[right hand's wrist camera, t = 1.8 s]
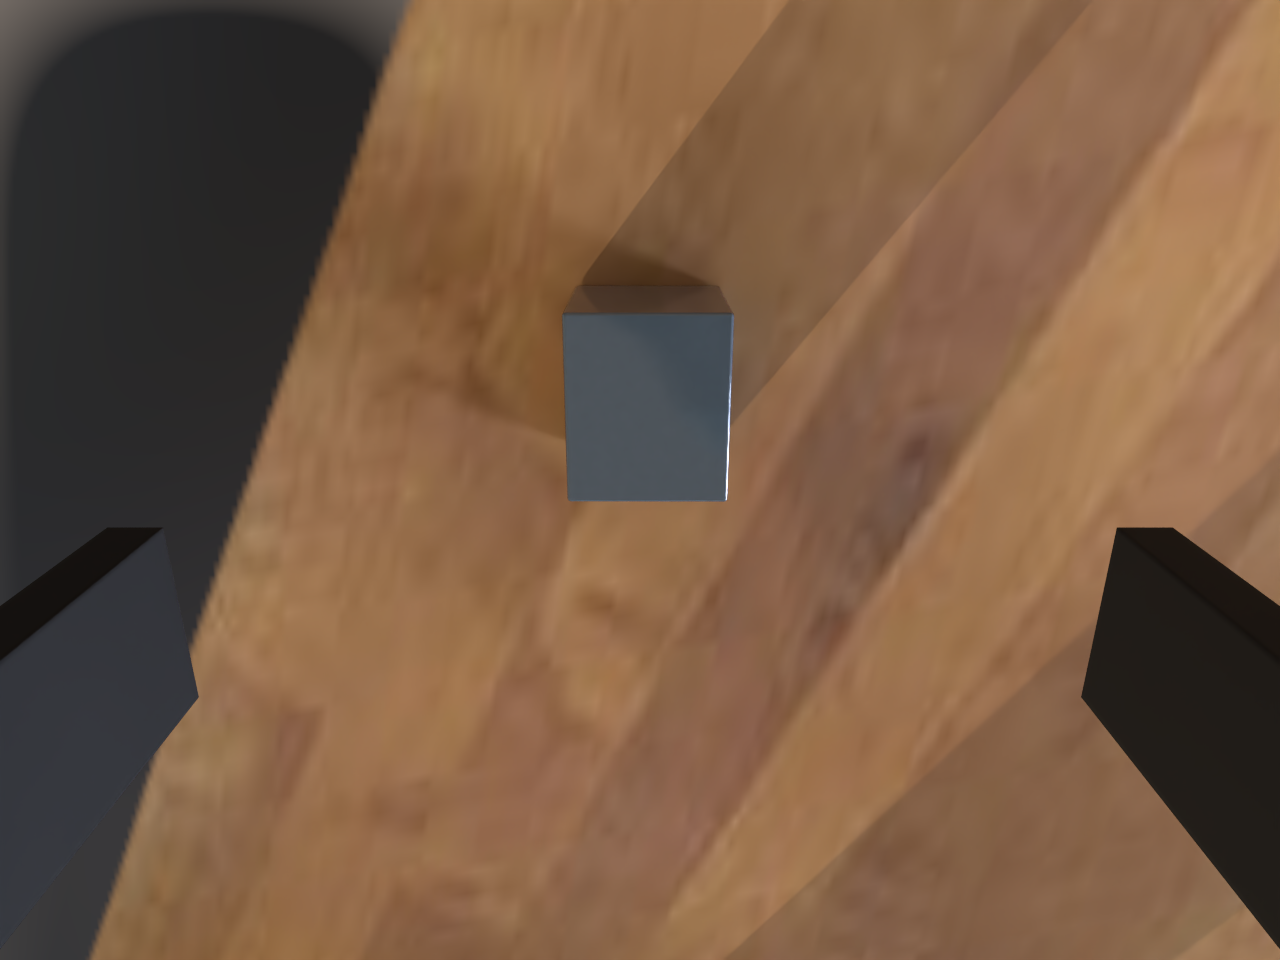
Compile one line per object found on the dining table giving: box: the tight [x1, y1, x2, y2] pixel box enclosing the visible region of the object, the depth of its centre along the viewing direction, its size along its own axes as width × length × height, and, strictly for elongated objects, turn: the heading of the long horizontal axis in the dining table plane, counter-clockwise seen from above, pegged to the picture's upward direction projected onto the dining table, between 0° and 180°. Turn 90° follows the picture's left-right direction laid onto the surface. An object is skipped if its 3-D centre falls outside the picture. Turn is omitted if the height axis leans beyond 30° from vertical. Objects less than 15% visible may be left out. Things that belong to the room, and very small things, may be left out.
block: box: [562, 286, 734, 501], centre depth 25 cm, size 5×4×5 cm
